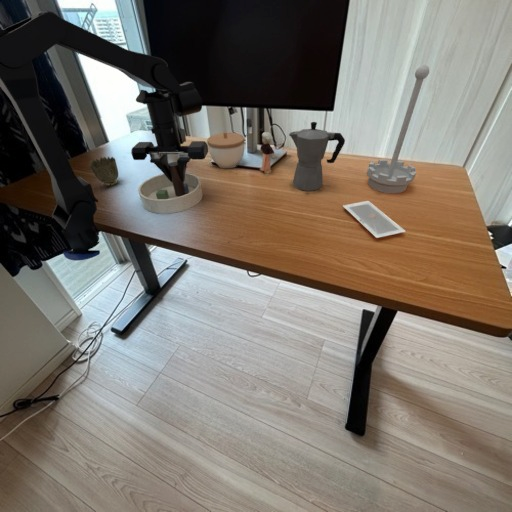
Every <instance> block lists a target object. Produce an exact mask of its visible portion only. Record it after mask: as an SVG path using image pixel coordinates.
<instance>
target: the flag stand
mask: <svg viewBox="0 0 512 512" xmlns="http://www.w3.org/2000/svg"><path fill="white" fill-rule="evenodd" d="M429 74H430V66H429V65H426V64H422V65H420V66H418V67H417V68H416V70H415V72H414V77H415V79H416V80H415V83H414V86H413V89H412V92H411V95H410V99H409V103H408V105H407V108H406V111H405V115H404V118H403V121H402V126H401V127H400V131H399V135H398V137H397V141H396V144H395V147H394V151H393V154H392V157H391V159H390V162H388V161H389V160H388V159H387V158H383V159H378V160H377V161H378V162H377V163H376V161H373V160H372V161H370V163H369V164H368V167H367V170H366V176H367V177H368V180H367V185H368V186H369V187H370V188H371V189H372V190H375V191H377V192H380V193H385V194H400V193H403V192H405V191H406V190H407V188H408V185H409V184H411V183H412V182H414V180H415V177H416V175H417V171H416V169H417V168H416V167H415V166H414V165H413V164H408V165H407V166H405V165H404V164H405V161H402V160H399V157H400V153H401V150H402V147H403V144H404V141H405V138H406V135H407V131H408V129H409V125H410V122H411V121H412V116H413V113H414V110H415V107H416V104H417V102H418V101H417V100H418V98H419V96H420V95H419V94H420V91H421V89H422V87H423V86H422V85H423V82H424V80H425V79H426V78H427V77H428V76H429Z"/></svg>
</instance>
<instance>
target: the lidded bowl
mask: <svg viewBox="0 0 512 512" xmlns="http://www.w3.org/2000/svg"><path fill="white" fill-rule="evenodd" d="M206 143H207V145H208V153H209V155H210V158H211V159H212V161H213V163H215V164H216V165H217V166H218V167H219V168H221V169H234V168H236V167H237V166H238V165H239V163H241V161H242V159H243V157H244V154H245V137H244V135H243V134H240V133H236V132H228V131H224V132H219V133H216V134H212V135H211V136H209V137H208V138H207V140H206ZM237 164H238V165H237ZM236 165H237V166H236Z"/></svg>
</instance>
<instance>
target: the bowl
mask: <svg viewBox="0 0 512 512" xmlns="http://www.w3.org/2000/svg"><path fill="white" fill-rule="evenodd" d="M184 183H187V184H188V189H189V192H188V194H185V195H183V196H180V197H178V196H176V195H175V191H174V187H173V183H172V182H170V180H169V179H168V178H167V177H166V176H165V174H164V173H161V174H157V175H154V176H152V177H150V178H148V179H146V180H144V181H143V182H142V183H141V184H140V185H139V186H138V189H137V192H138V195H139V199H140V201H141V203H142V206H143V208H144V209H145V210H146V211H149V212H151V213H155V214H161V215H162V214H164V215H165V214H166V215H167V214H175V213H180V212H184V211H187V210H190V209H192V208H193V207H194V206H196V205H198V204H199V203H200V202H201V200H202V199H203V196H204V195H203V189H202V183H201V179H200V178H199V177H198V176H197V175H195V174H194V173H190V172H186V173H185V181H184ZM158 190H167V192H168V195H169V198H168V199H157V196H156V193H157V191H158Z"/></svg>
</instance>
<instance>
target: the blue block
mask: <svg viewBox="0 0 512 512" xmlns="http://www.w3.org/2000/svg"><path fill="white" fill-rule="evenodd" d="M184 187H185V191H186V194H188V192H189V189H188V184H187V183H184Z"/></svg>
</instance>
